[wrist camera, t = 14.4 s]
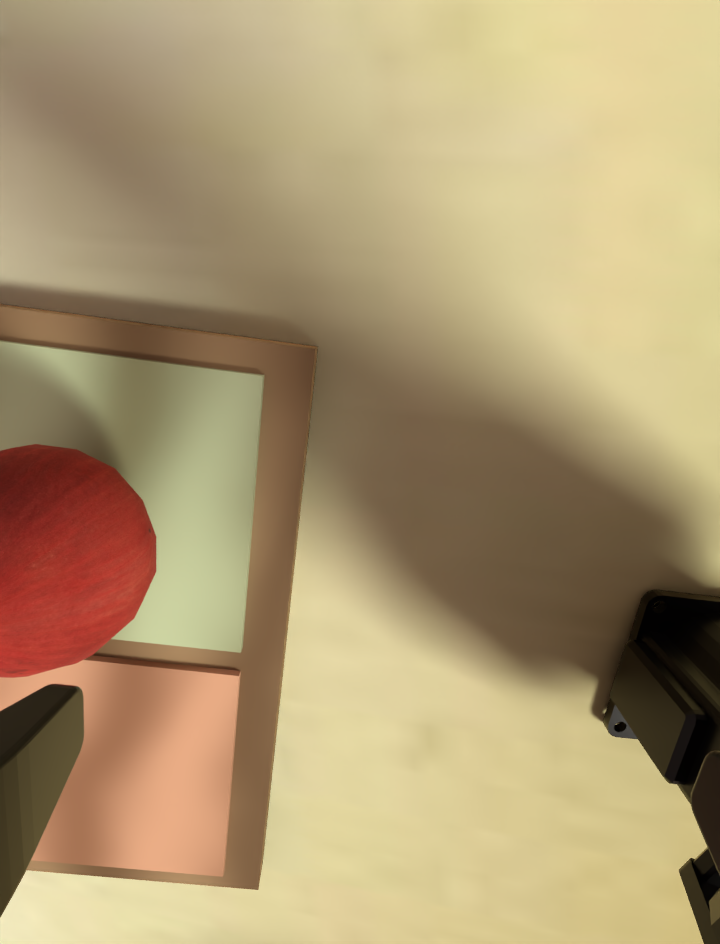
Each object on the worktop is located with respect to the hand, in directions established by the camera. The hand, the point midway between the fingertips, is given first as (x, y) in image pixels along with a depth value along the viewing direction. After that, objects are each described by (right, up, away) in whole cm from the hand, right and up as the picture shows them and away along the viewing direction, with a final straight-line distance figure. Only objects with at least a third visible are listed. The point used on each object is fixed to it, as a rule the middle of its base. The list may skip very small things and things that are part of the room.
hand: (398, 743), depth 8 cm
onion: (-9, +3, +10) cm, 14 cm away
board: (-10, -2, +13) cm, 17 cm away
